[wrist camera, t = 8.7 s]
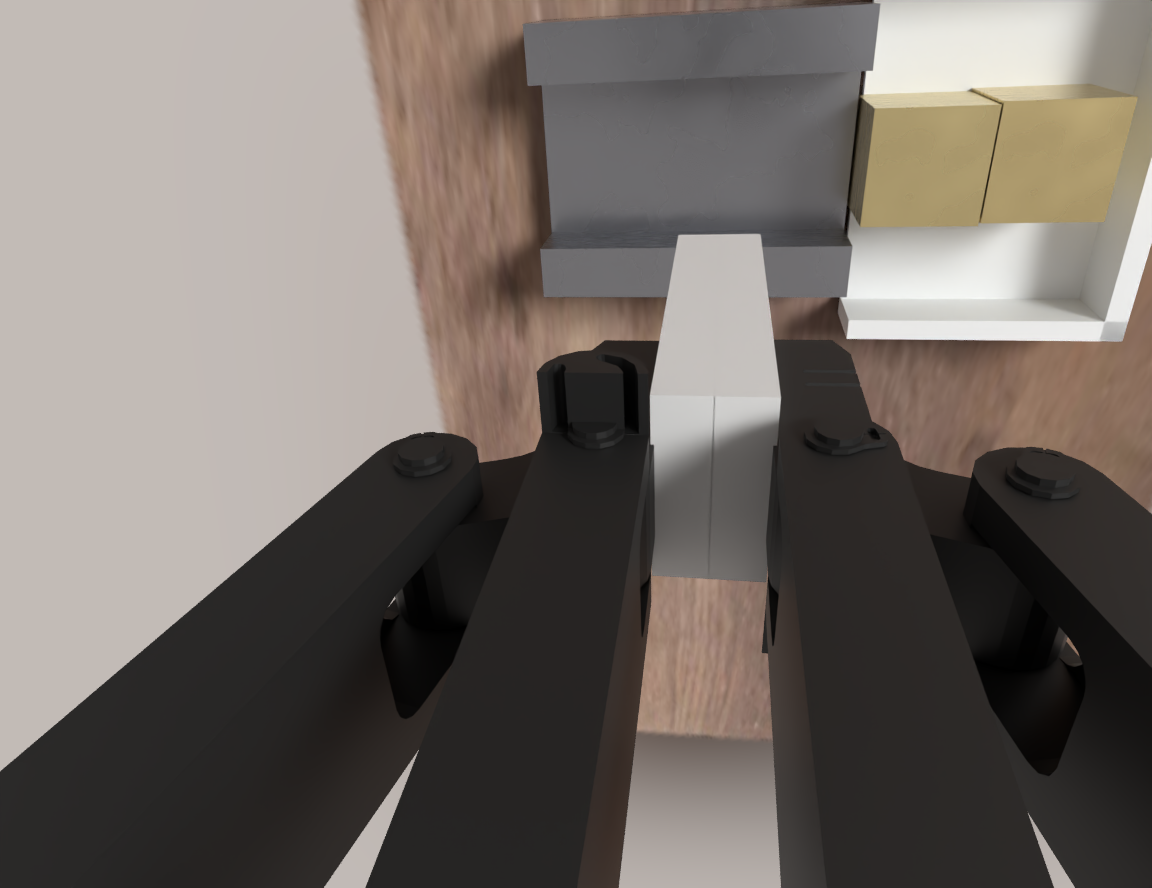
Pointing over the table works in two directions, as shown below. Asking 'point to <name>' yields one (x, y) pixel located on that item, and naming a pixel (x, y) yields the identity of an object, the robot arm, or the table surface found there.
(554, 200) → the slot rail
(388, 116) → the table surface
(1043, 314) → the white rectangular frame
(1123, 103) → the khaki cube block
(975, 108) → the tan cube block
